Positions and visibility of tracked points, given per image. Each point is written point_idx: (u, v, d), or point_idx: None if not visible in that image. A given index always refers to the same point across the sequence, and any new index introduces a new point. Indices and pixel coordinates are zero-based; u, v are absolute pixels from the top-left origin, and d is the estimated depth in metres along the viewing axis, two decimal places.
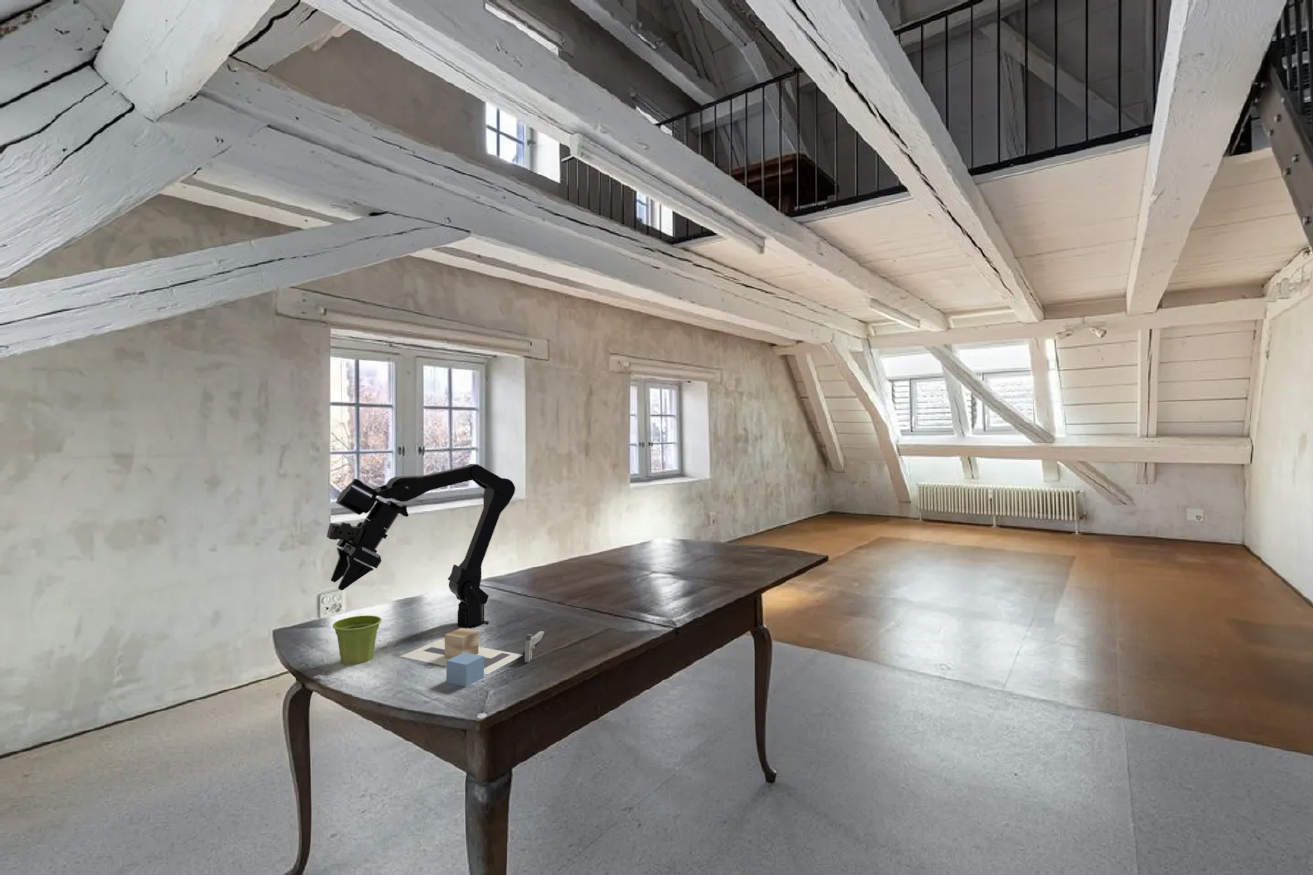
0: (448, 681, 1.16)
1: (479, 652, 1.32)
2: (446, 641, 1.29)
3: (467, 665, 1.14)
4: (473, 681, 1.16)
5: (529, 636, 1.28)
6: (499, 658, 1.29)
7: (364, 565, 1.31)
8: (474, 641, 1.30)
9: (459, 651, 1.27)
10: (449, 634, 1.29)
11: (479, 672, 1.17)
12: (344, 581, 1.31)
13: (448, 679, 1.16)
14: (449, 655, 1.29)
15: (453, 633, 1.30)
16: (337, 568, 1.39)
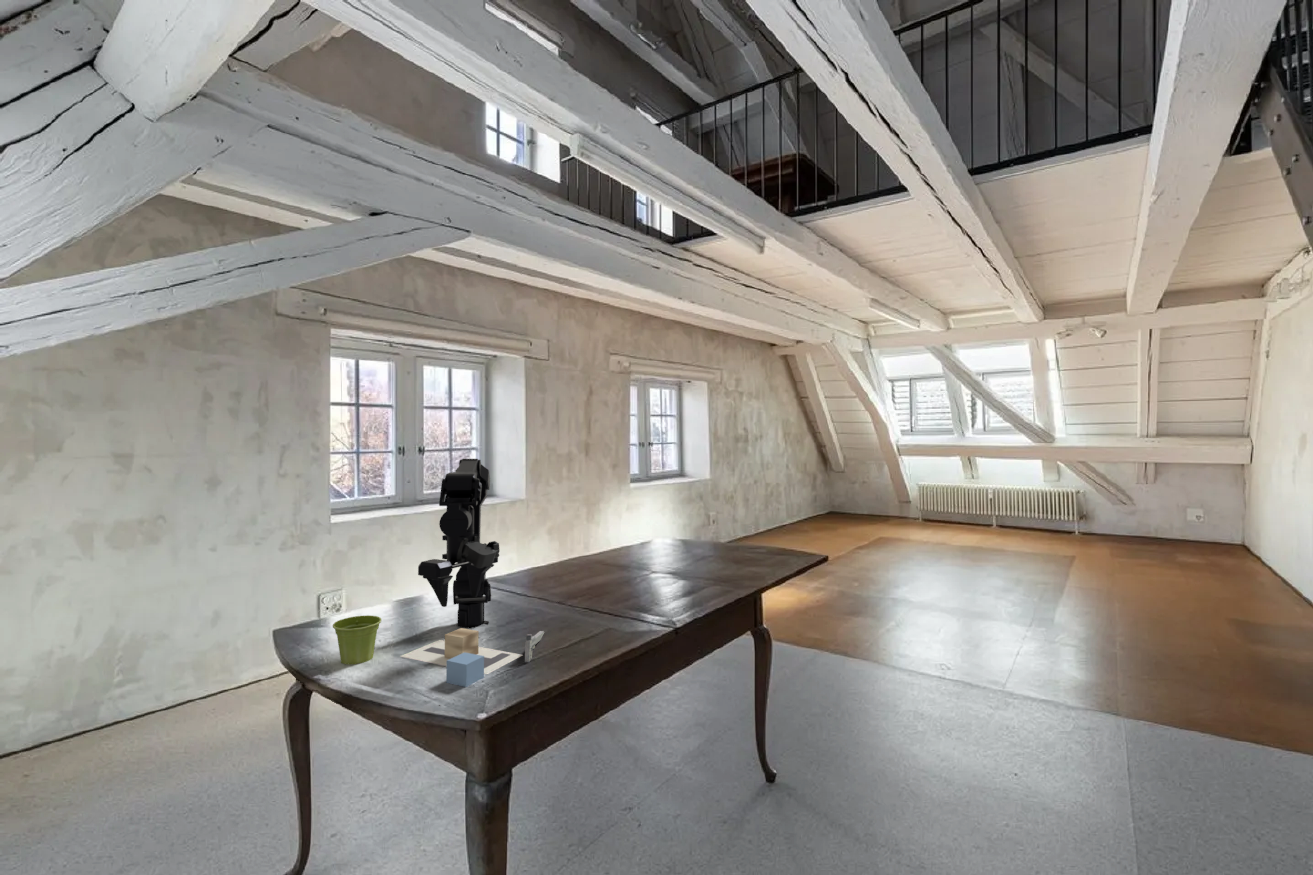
0: (448, 681, 1.16)
1: (479, 652, 1.32)
2: (446, 641, 1.29)
3: (467, 665, 1.14)
4: (473, 681, 1.16)
5: (529, 636, 1.28)
6: (499, 658, 1.29)
7: None
8: (474, 641, 1.30)
9: (459, 651, 1.27)
10: (449, 634, 1.29)
11: (479, 672, 1.17)
12: None
13: (448, 679, 1.16)
14: (449, 655, 1.29)
15: (453, 633, 1.30)
16: None
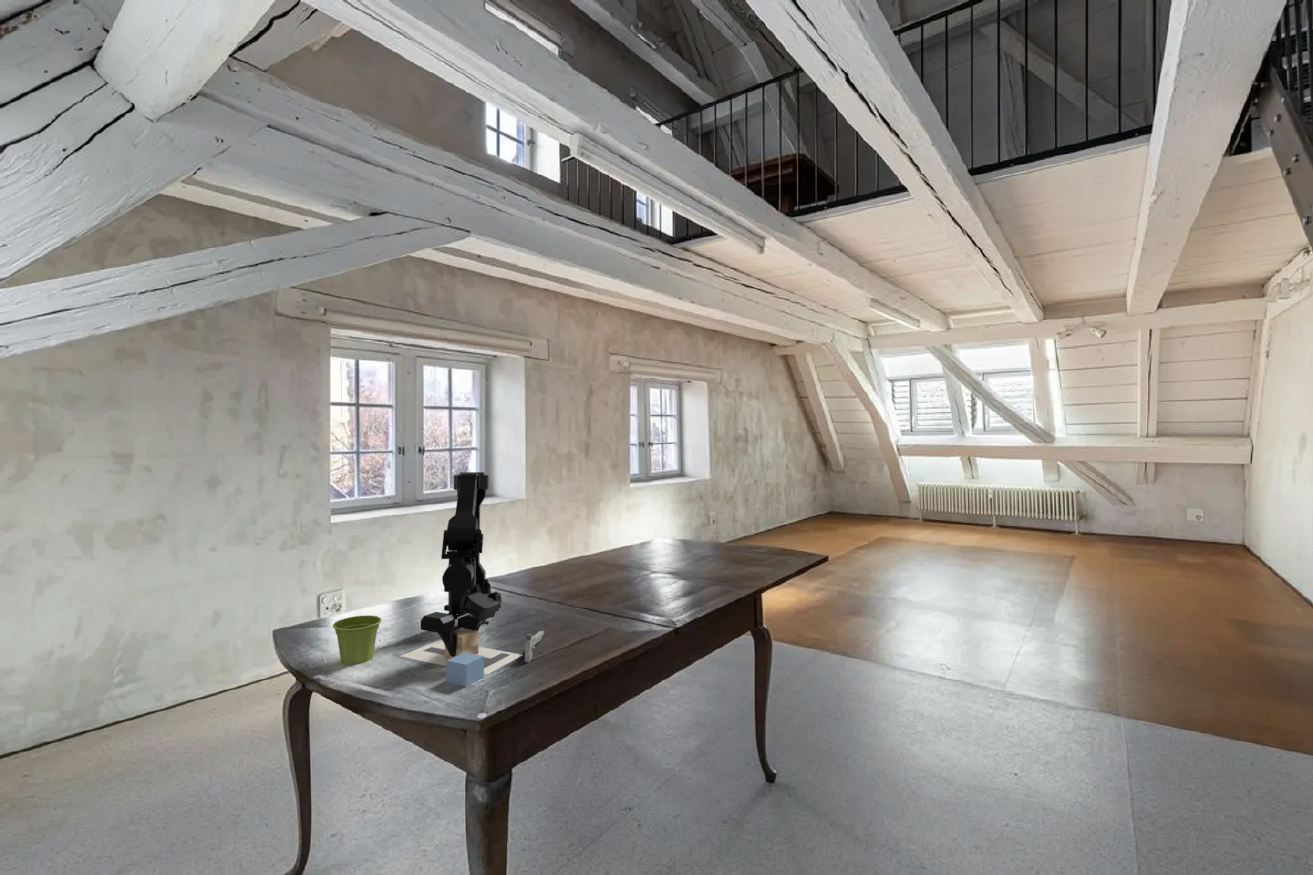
0: (448, 681, 1.16)
1: (479, 652, 1.32)
2: None
3: (467, 665, 1.14)
4: (473, 681, 1.16)
5: (529, 636, 1.28)
6: (499, 658, 1.29)
7: None
8: (474, 641, 1.30)
9: (459, 651, 1.27)
10: None
11: (479, 672, 1.17)
12: None
13: (448, 679, 1.16)
14: (449, 655, 1.29)
15: None
16: None
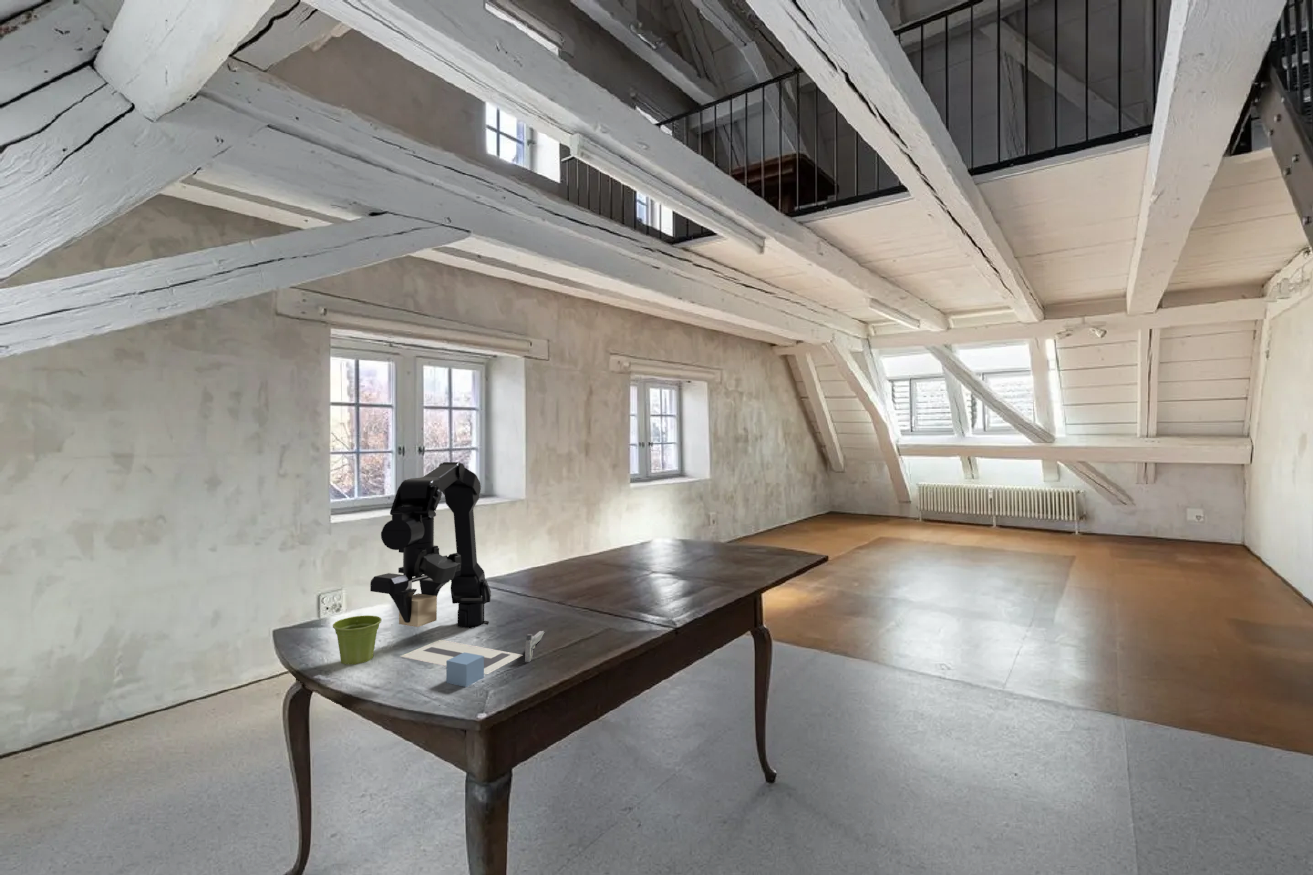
0: (448, 682, 1.16)
1: (479, 652, 1.32)
2: None
3: (467, 665, 1.14)
4: (473, 681, 1.16)
5: (529, 636, 1.28)
6: (499, 658, 1.29)
7: None
8: (432, 606, 1.20)
9: (415, 616, 1.17)
10: None
11: (479, 672, 1.17)
12: None
13: (448, 679, 1.16)
14: None
15: None
16: None
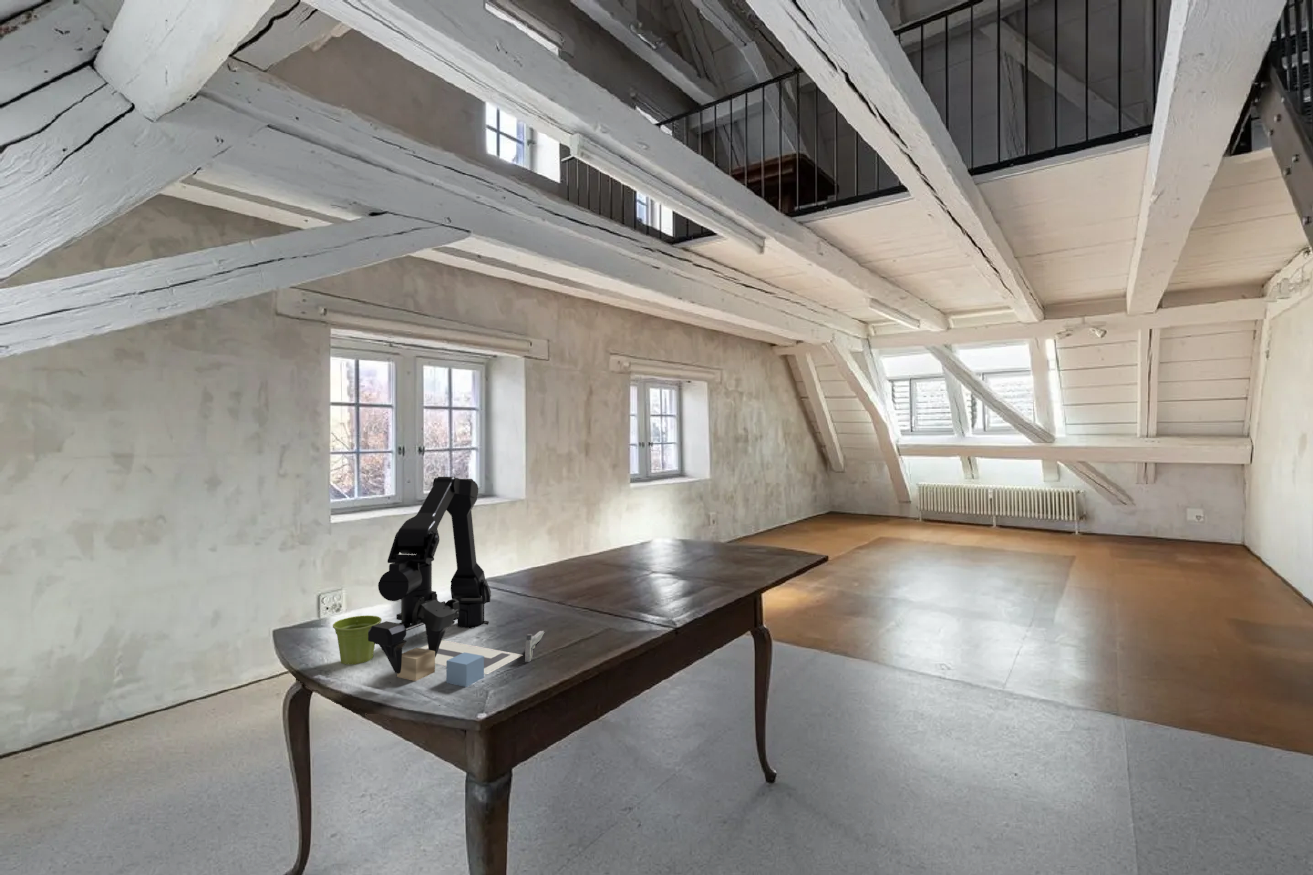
0: (448, 682, 1.16)
1: (479, 652, 1.32)
2: None
3: (467, 665, 1.14)
4: (473, 681, 1.16)
5: (529, 636, 1.28)
6: (499, 658, 1.29)
7: None
8: (430, 662, 1.20)
9: (413, 674, 1.17)
10: (402, 655, 1.19)
11: (479, 672, 1.17)
12: None
13: (448, 679, 1.16)
14: None
15: (407, 654, 1.19)
16: None
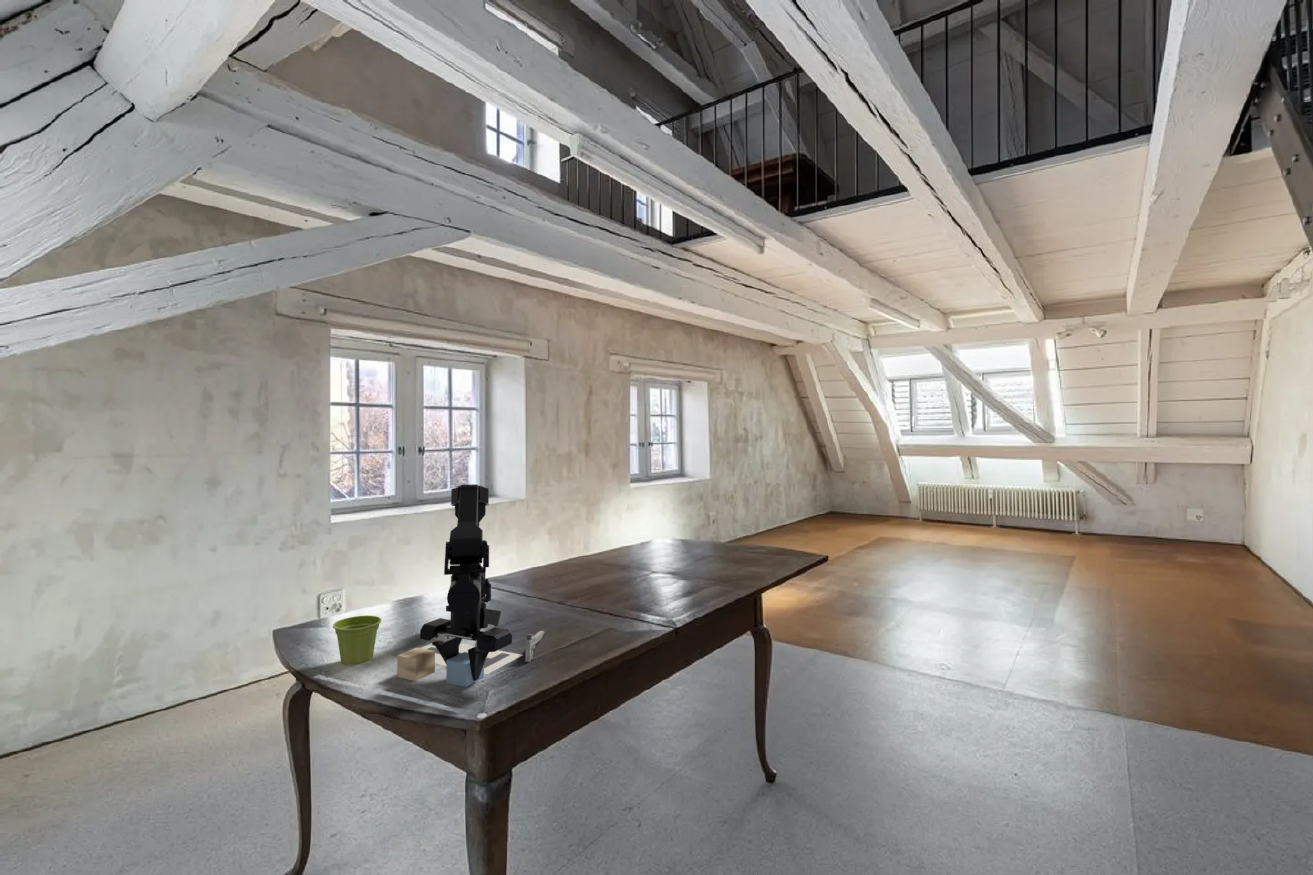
0: (448, 681, 1.16)
1: None
2: (398, 663, 1.18)
3: (467, 664, 1.14)
4: (473, 680, 1.16)
5: (530, 636, 1.28)
6: (499, 658, 1.29)
7: None
8: (430, 662, 1.20)
9: (413, 674, 1.17)
10: (402, 655, 1.19)
11: None
12: None
13: (448, 679, 1.16)
14: None
15: (407, 654, 1.19)
16: None
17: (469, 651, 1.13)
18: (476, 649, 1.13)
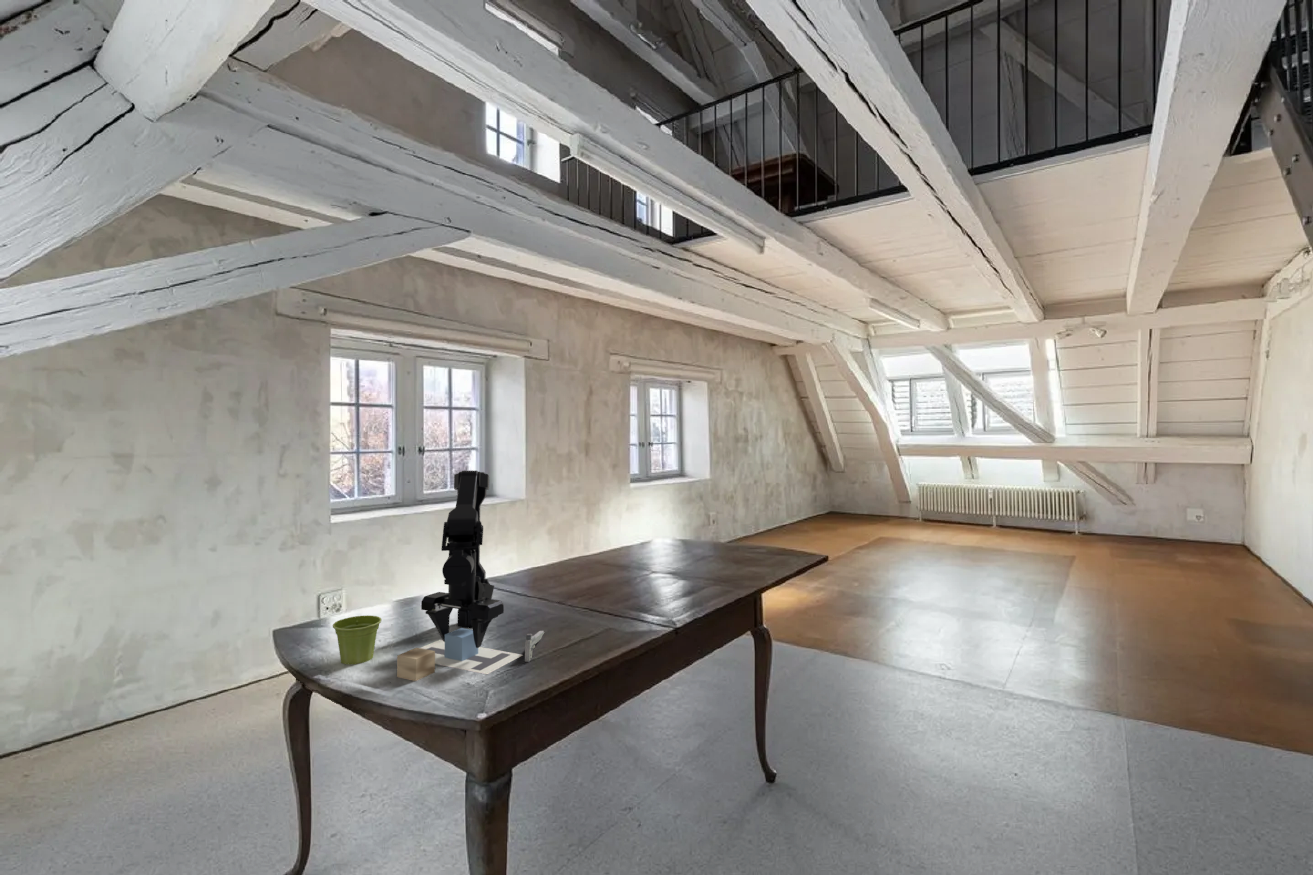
0: (446, 653, 1.29)
1: (479, 652, 1.32)
2: (398, 663, 1.18)
3: (463, 638, 1.27)
4: (468, 653, 1.29)
5: (529, 636, 1.28)
6: (499, 658, 1.29)
7: None
8: (430, 662, 1.20)
9: (413, 674, 1.17)
10: (402, 655, 1.19)
11: (474, 645, 1.30)
12: None
13: (446, 651, 1.29)
14: None
15: (407, 654, 1.19)
16: None
17: (472, 620, 1.26)
18: (479, 619, 1.26)
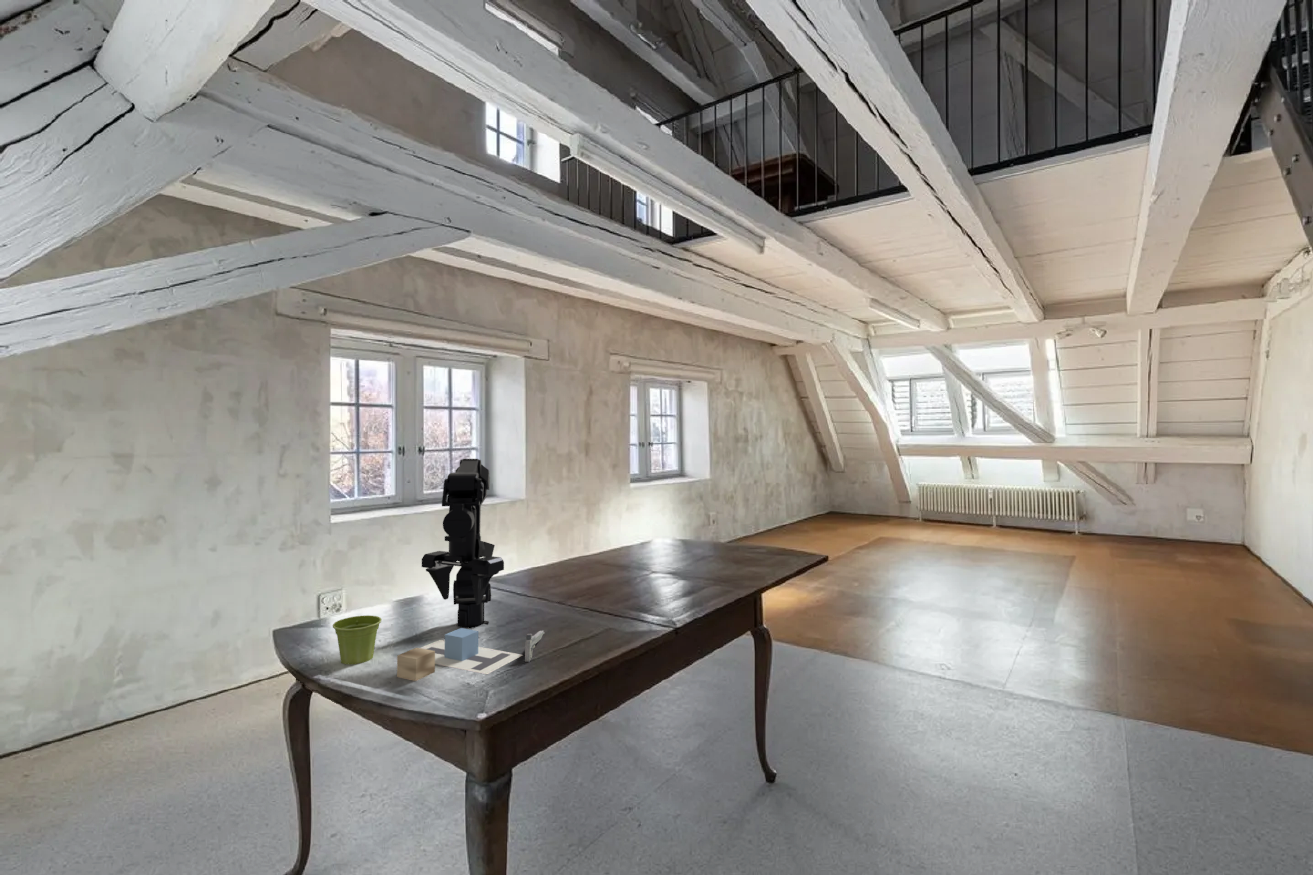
0: (446, 653, 1.29)
1: (479, 652, 1.32)
2: (398, 663, 1.18)
3: (463, 638, 1.27)
4: (468, 653, 1.29)
5: (529, 635, 1.28)
6: (499, 658, 1.29)
7: None
8: (430, 662, 1.20)
9: (413, 673, 1.17)
10: (402, 655, 1.19)
11: (474, 645, 1.30)
12: None
13: (446, 651, 1.29)
14: None
15: (407, 654, 1.19)
16: None
17: (472, 576, 1.26)
18: (479, 575, 1.26)
